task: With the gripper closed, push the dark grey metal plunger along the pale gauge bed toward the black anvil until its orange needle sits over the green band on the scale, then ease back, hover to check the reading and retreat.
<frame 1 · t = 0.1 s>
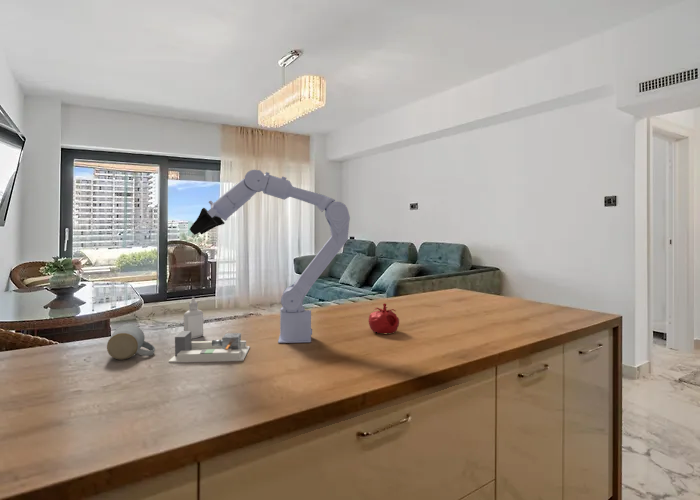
hand: (195, 232, 117), 32 cm above the counter, tool tilted 50°, fingers open, 7 cm apart
gauge bed: (214, 353, 107), on the counter
eye dropper bottle: (193, 337, 123), on the counter
plunger: (224, 345, 105), point 3 cm above the counter, slide at 0.0 cm
pomegranate: (383, 332, 131), on the counter
ceramic mug: (131, 356, 105), on the counter
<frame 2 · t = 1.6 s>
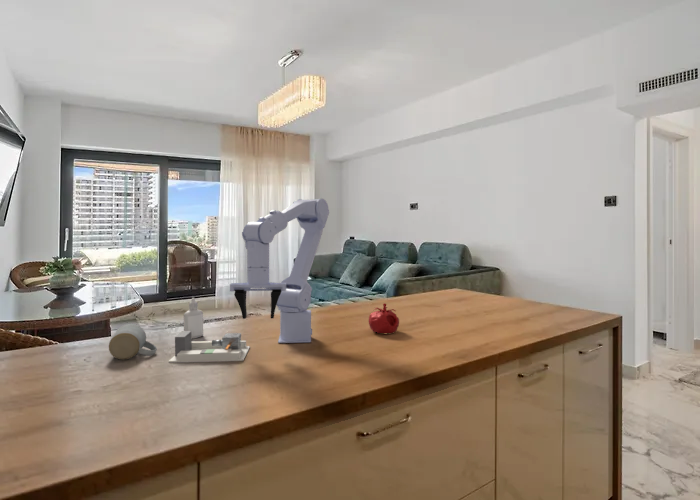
hand: (258, 317, 108), 9 cm above the counter, tool pointing down, fingers open, 7 cm apart
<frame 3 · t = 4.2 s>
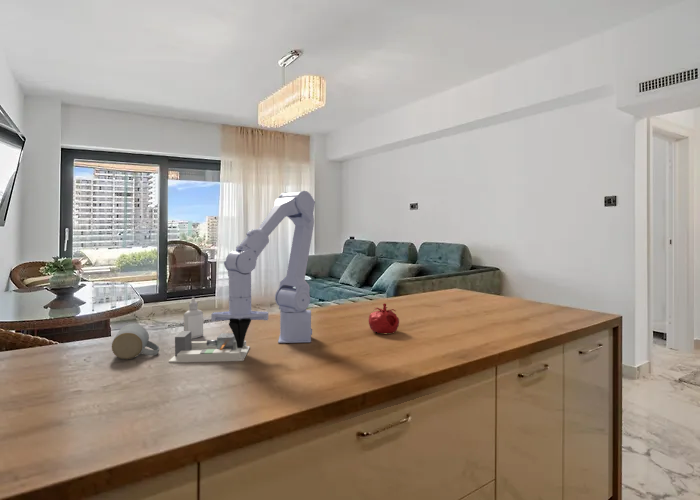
hand: (240, 346, 108), 2 cm above the counter, tool pointing down, fingers closed
plunger: (218, 345, 105), point 3 cm above the counter, slide at 1.3 cm, touching gripper
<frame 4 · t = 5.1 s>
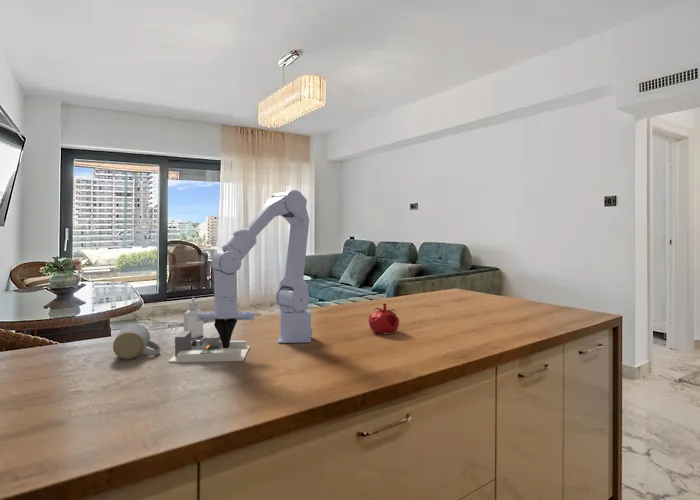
hand: (226, 347, 108), 2 cm above the counter, tool pointing down, fingers closed
plunger: (204, 345, 105), point 3 cm above the counter, slide at 5.0 cm, touching gripper
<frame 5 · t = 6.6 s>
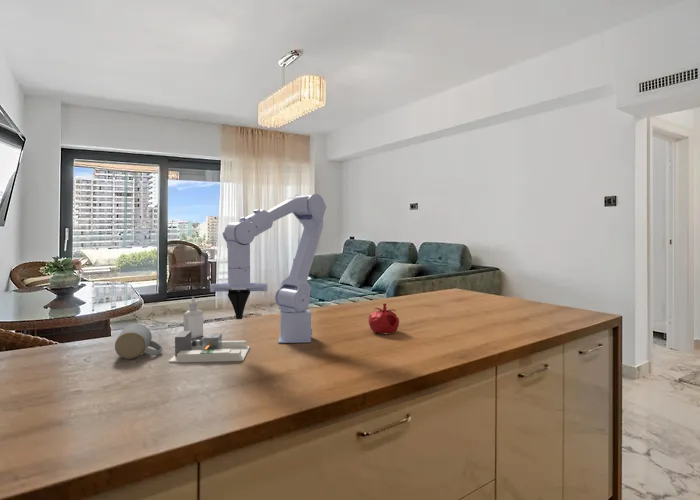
hand: (239, 318, 108), 9 cm above the counter, tool pointing down, fingers closed
plunger: (204, 345, 105), point 3 cm above the counter, slide at 5.1 cm
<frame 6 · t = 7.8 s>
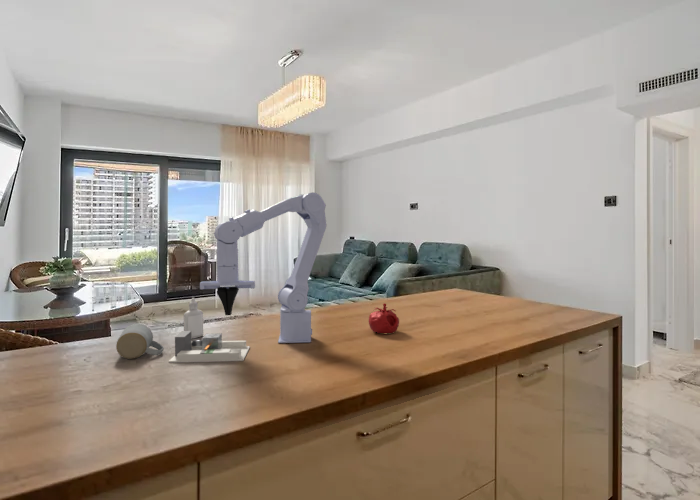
hand: (228, 314, 112), 9 cm above the counter, tool pointing down, fingers closed
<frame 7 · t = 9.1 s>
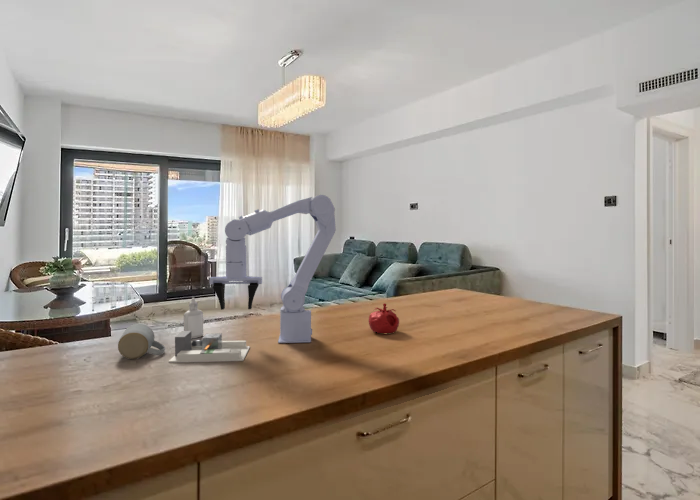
hand: (236, 308, 117), 10 cm above the counter, tool pointing down, fingers open, 7 cm apart
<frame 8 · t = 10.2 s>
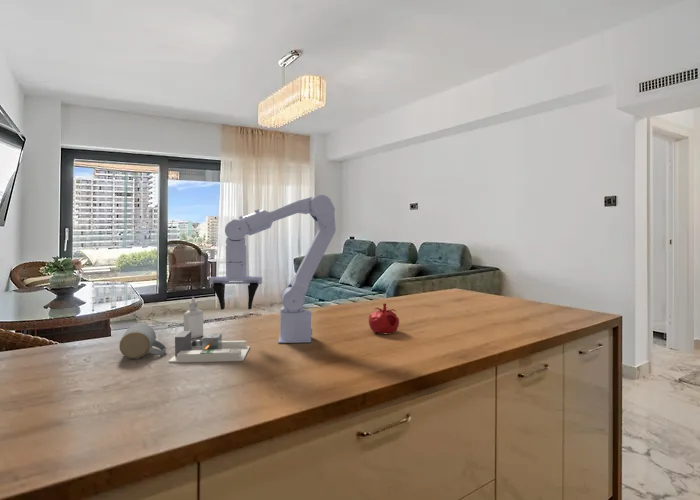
hand: (236, 308, 117), 10 cm above the counter, tool pointing down, fingers open, 7 cm apart
at the end: plunger slide at 5.1 cm; plunger touching nothing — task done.
